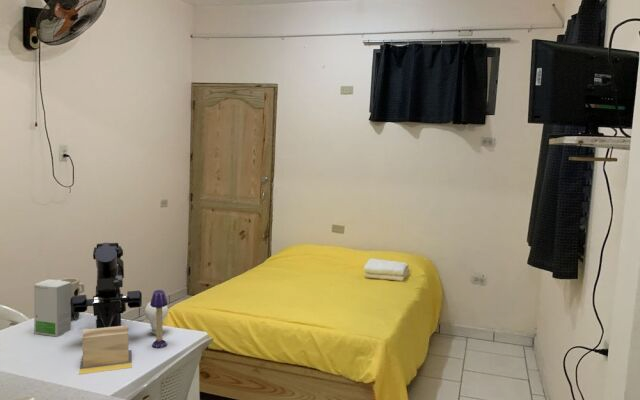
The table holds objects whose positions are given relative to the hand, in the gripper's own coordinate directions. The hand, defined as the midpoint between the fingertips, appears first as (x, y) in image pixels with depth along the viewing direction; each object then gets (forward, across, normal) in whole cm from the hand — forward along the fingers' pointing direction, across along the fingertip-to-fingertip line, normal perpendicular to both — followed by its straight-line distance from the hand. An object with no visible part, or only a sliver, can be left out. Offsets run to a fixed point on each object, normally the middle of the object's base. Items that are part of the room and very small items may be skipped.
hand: (107, 329), depth 141 cm
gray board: (+10, 0, 0) cm, 10 cm away
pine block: (+9, 0, 0) cm, 9 cm away
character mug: (-17, -13, +26) cm, 34 cm away
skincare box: (-10, -16, +19) cm, 27 cm away
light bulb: (-1, +14, +11) cm, 17 cm away
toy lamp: (+6, +14, +4) cm, 15 cm away
